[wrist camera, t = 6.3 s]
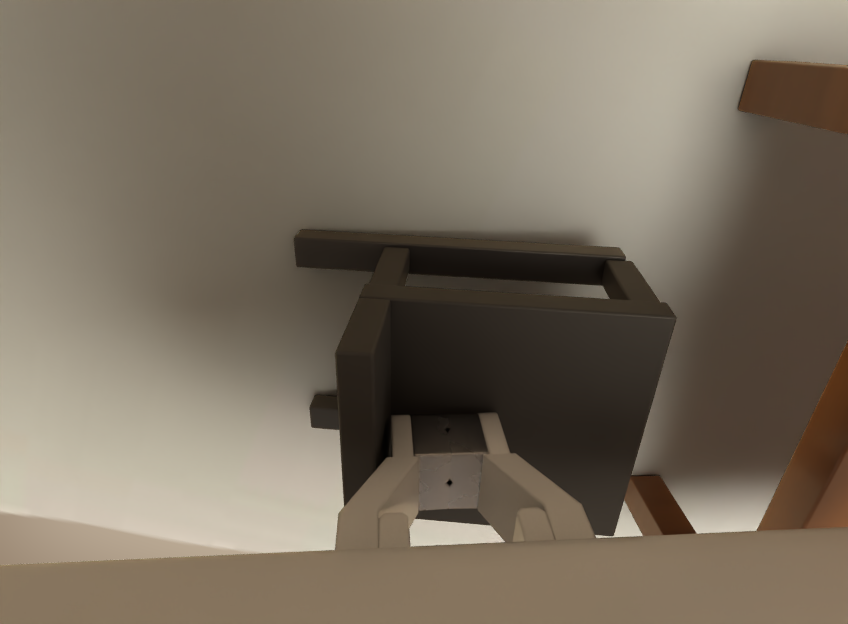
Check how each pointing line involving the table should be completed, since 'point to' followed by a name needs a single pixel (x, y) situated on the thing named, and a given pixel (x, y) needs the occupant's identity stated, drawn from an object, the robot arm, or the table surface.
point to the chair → (496, 357)
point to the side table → (844, 393)
